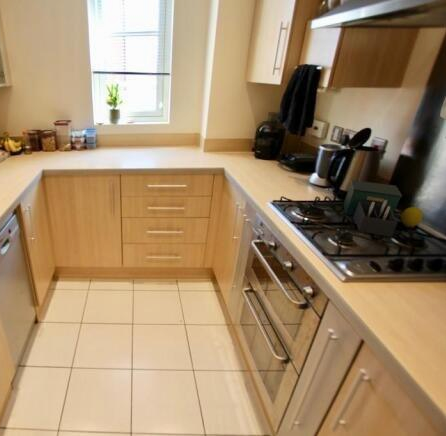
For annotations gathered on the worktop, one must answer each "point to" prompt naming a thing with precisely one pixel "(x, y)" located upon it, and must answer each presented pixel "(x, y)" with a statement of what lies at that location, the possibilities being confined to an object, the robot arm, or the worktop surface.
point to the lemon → (411, 216)
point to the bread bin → (370, 195)
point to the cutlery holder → (375, 218)
